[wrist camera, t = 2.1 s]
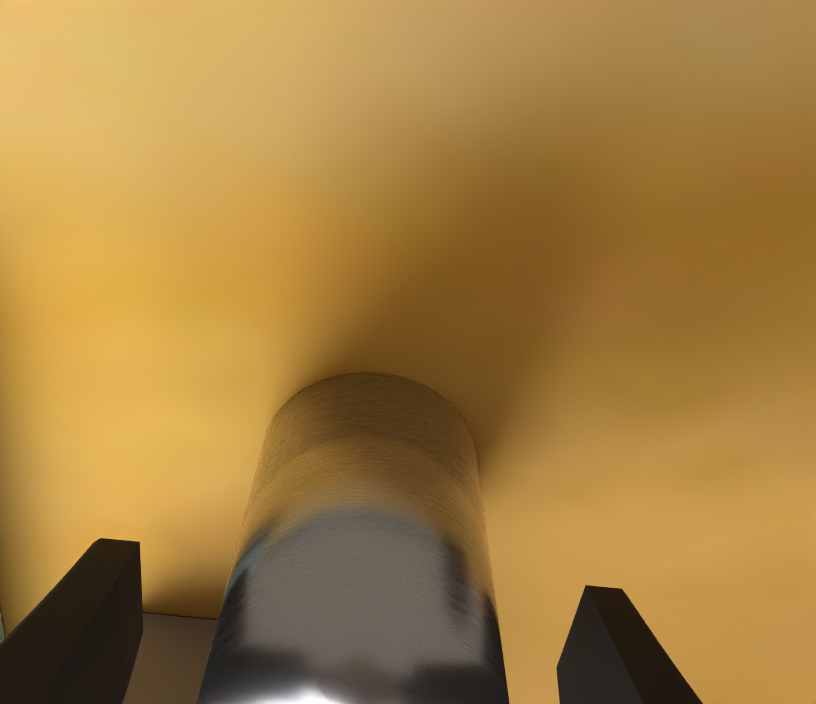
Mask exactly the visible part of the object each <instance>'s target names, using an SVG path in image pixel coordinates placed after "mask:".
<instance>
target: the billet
mask: <svg viewBox="0 0 816 704" xmlns="http://www.w3.org/2000/svg"><path fill="white" fill-rule="evenodd" d="M196 704H509V697H508V690H507V682H506V675H505V667H504V660H503V652H502V645H501V637H500V630H499V622H498V615H497V608H496V600H495V593H494V585H493V578H492V570H491V563H490V555H489V548H488V540H487V533H486V526H485V518H484V511H483V503H482V496H481V488H480V481H479V473H478V466H477V458H476V451H475V446H474V441H473V438H472V435H471V433H470V430H469V428H468V426H467V425H466V423H465V421H464V419H463V418H462V417H461V415H460V414H459V413H458V411H457V410H456V409H455V408H454V407H453V406H452V405H451V404H450V403H449V402H448V401H447V400H446V399H444V398H443V397H442V396H440V395H439V394H438V393H436V392H435V391H433V390H431V389H429V388H428V387H426V386H424V385H422V384H419V383H417V382H415V381H412V380H409V379H406V378H403V377H399V376H395V375H389V374H383V373H368V372H367V373H351V374H345V375H339V376H335V377H332V378H328V379H325V380H322V381H320V382H318V383H315V384H313V385H311V386H309V387H307V388H306V389H304V390H302V391H301V392H299V393H298V394H296V395H295V396H294V397H293V398H291V399H290V400H289V401H288V402H287V403H286V404H285V405H284V406H283V407H282V408H281V409H280V410H279V412H278V413H277V414H276V416H275V417H274V419H273V420H272V422H271V424H270V426H269V428H268V430H267V433H266V437H265V440H264V443H263V447H262V451H261V455H260V459H259V463H258V467H257V470H256V474H255V478H254V482H253V486H252V490H251V494H250V497H249V501H248V505H247V509H246V513H245V517H244V521H243V524H242V528H241V532H240V536H239V540H238V544H237V548H236V551H235V555H234V559H233V563H232V567H231V571H230V575H229V578H228V582H227V586H226V590H225V594H224V598H223V602H222V605H221V609H220V613H219V617H218V621H217V625H216V629H215V632H214V636H213V640H212V644H211V648H210V652H209V656H208V659H207V663H206V667H205V671H204V675H203V679H202V683H201V686H200V690H199V694H198V698H197V702H196Z"/></svg>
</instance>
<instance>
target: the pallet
mask: <svg viewBox="0 0 816 704" xmlns="http://www.w3.org/2000/svg"><path fill="white" fill-rule="evenodd" d="M4 639H5V635H4V629H3V623H2V618H1V612H0V643H1V642H2V641H3V640H4Z"/></svg>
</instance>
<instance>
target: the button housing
mask: <svg viewBox="0 0 816 704" xmlns="http://www.w3.org/2000/svg"><path fill="white" fill-rule="evenodd" d="M217 621H218V620H212V619H201V618H190V617H179V616H168V615H158V614H147V613H143V635H142V638H141V642H140V646H139V649H138V653H137V657H136V660H135V664H134V668H133V671H132V674H131V678H130V681H129V685H128V688H127V692H126V695H125V698H124V700H123V703H122V704H196V702H197V698H198V694H199V690H200V686H201V683H202V679H203V675H204V671H205V667H206V663H207V659H208V656H209V652H210V648H211V644H212V640H213V636H214V632H215V629H216V625H217Z"/></svg>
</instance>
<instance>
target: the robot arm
mask: <svg viewBox="0 0 816 704" xmlns="http://www.w3.org/2000/svg"><path fill="white" fill-rule="evenodd" d="M142 635H143V609H142V585H141V562H140V542H135V541H124V540H114V539H104V538H100V539H98V540H97V541H95V542H94V543H93V544H92V545H91V546H90V547H89V549H88V550H87V551H86V552H85V553H84V554H83V556H82V557H81V558H80V559H79V560H78V561H77V562H76V564H75V565H74V566H73V567H72V568H71V569H70V570H69V572H68V573H67V574H66V575H65V576H64V577H63V578H62V579H61V580H60V582H59V583H58V584H57V585H56V586H55V587H54V588H53V589H52V590H51V591H50V592H49V593H48V595H47V596H46V597H45V598H44V599H43V600H42V601H41V602H40V603H39V604H38V605H37V606H36V607H35V608H34V609H33V610H32V611H31V613H30V614H29V615H28V616H27V617H26V618H25V619H24V620H23V621H22V622H21V623H20V624H19V625H18V626H17V627H16V628H15V629H14V630H13V631H12V632H11V633H10V634H9V635H8V636H7V637H6V638H5V639H4V640H3V641H2V642H1V643H0V704H122V703H123V700H124V698H125V695H126V692H127V688H128V685H129V681H130V678H131V674H132V671H133V668H134V664H135V660H136V657H137V653H138V649H139V646H140V642H141V638H142ZM557 678H558V688H559V699H560V704H703V703H702V702H701V700H700V699H699V698H698V696H697V695H696V694H695V692H694V691H693V690H692V688H691V687H690V686H689V684H688V683H687V682H686V680H685V679H684V677H683V676H682V675H681V673H680V672H679V670H678V669H677V668H676V666H675V665H674V663H673V662H672V660H671V659H670V658H669V656H668V655H667V653H666V652H665V650H664V649H663V648H662V646H661V645H660V643H659V642H658V640H657V639H656V637H655V636H654V635H653V633H652V632H651V630H650V629H649V627H648V626H647V624H646V623H645V621H644V620H643V618H642V617H641V615H640V614H639V613H638V611H637V610H636V608H635V607H634V605H633V604H632V602H631V601H630V599H629V598H628V597H627V595H626V594H625V592H624V591H623V590H622V589H618V588H608V587H598V586H588V585H586V586H585V589H584V592H583V594H582V597H581V600H580V603H579V606H578V609H577V611H576V614H575V617H574V620H573V623H572V626H571V628H570V631H569V634H568V637H567V640H566V643H565V646H564V648H563V651H562V654H561V657H560V660H559V663H558V665H557Z"/></svg>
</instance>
